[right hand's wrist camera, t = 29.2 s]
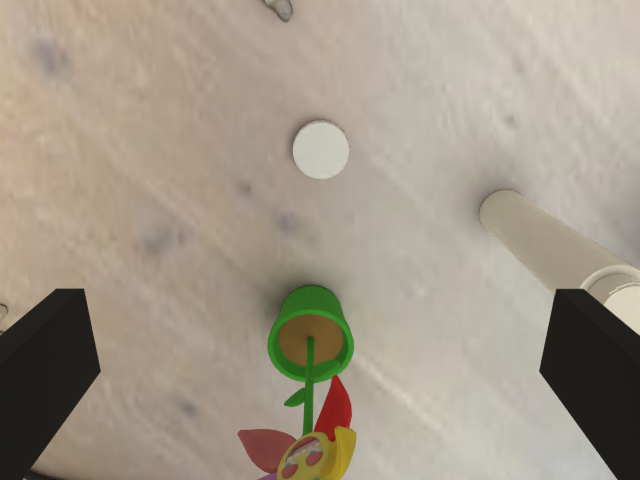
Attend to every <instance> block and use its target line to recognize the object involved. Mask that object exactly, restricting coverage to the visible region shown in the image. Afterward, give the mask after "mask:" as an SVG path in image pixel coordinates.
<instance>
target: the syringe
mask: <svg viewBox="0 0 640 480" xmlns="http://www.w3.org/2000/svg"><path fill="white" fill-rule="evenodd" d="M264 2H265V3H266V5H267V6H269V7H270V8H272V9H273V10H274V11H276V13H277V14H278V16H279V17H280V19H281V20H283V21H285V22H287V21H289V19H290V16H291V14H292V11H293V9H292V6H291V4H290V1H289V0H264Z"/></svg>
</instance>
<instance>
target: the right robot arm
mask: <svg viewBox="0 0 640 480" xmlns="http://www.w3.org/2000/svg"><path fill="white" fill-rule="evenodd" d="M100 372H101V370H100V365H99V360H98V355H97V350H96V345H95V341H94V336H93V331H92V326H91V321H90V316H89V311H88V306H87V301H86V296H85V292H84V289H55V290H54V291H53V292H52V293H51V294H49V295H48V296H47V297H46V298H45V299H43V300H42V301H41V302H40V303H39V304H37V305H36V306H35V307H34V308H33V309H31V310H30V311H29V312H28V313H27V314H25V315H24V316H23V317H22V318H21V319H19V320H18V321H17V322H16V323H15V324H13V325H12V326H11V327H10V328H9V329H8V330H6V331H5V332H4V333H3V334H2V335H0V480H23V478H25V479H27V480H55V479H51V478H47V477H44V476H41V475H39V474H36V473H34V472H32V471H30V469H31V467H32V466H33V464H34V463H35V462H36V460H37V459H38V457H39V456H40V455H41V453H42V452H43V451H44V449H45V448H46V446H47V445H48V444H49V442H50V441H51V439H52V438H53V437H54V435H55V434H56V433H57V431H58V430H59V428H60V427H61V426H62V424H63V423H64V422H65V420H66V419H67V417H68V416H69V415H70V413H71V412H72V410H73V409H74V408H75V406H76V405H77V404H78V402H79V401H80V399H81V398H82V397H83V395H84V394H85V393H86V391H87V390H88V388H89V387H90V386H91V384H92V383H93V381H94V380H95V379H96V377H97V376H98V375H99V373H100ZM539 372H540V373H541V375H542V376H543V377H544V379H545V380H546V381H547V383H548V384H549V386H550V387H551V388H552V390H553V391H554V393H555V394H556V395H557V397H558V398H559V399H560V401H561V402H562V404H563V405H564V406H565V408H566V409H567V410H568V412H569V413H570V415H571V416H572V417H573V419H574V420H575V422H576V423H577V424H578V426H579V427H580V428H581V430H582V431H583V433H584V434H585V435H586V437H587V438H588V439H589V441H590V442H591V444H592V445H593V446H594V448H595V449H596V451H597V452H598V453H599V455H600V456H601V457H602V459H603V460H604V462H605V463H606V464H607V466H608V467H609V469H610V470H611V471H612V473H613V474H614V475H615V477H616V478H617V480H640V335H638V334H637V333H636V332H635V331H634V330H632V329H631V328H630V327H629V326H628V325H626V324H625V323H624V322H623V321H622V320H621V319H619V318H618V317H617V316H616V315H615V314H613V313H612V312H611V311H610V310H609V309H607V308H606V307H605V306H604V305H603V304H601V303H600V302H599V301H598V300H597V299H595V298H594V297H593V296H592V295H591V294H589V293H588V292H587V291H586V290H585V289H556V292H555V296H554V301H553V306H552V311H551V316H550V321H549V326H548V331H547V336H546V341H545V345H544V350H543V355H542V360H541V365H540V370H539Z"/></svg>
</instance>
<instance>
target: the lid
mask: <svg viewBox="0 0 640 480" xmlns="http://www.w3.org/2000/svg"><path fill="white" fill-rule="evenodd" d="M292 146H293V152H292V154H293V157H294V162H295V163H296V165H297V167H298V168H299V169H300V170H301V171H302V172H303V173H304V174H305V175H307V176H309V177H311V178H315V179H327V178H331V177H333V176H335V175H337V174H338V173H339V172H340V171H341V170H342V169H343V168H344V167H345V165H346V164H347V161H348V158H349V149H350V147H349V144H348V138H347V137H346V136H345V134H344V131H342V130H341V129H340V127H339V126H338V125H336V124H334V123H332V122H331V121H330V122H329V121H325V120H323V119H322V120H317V121H315V120H314V121H313V122H310V123H306V125H305V126H304V127H302V128H300V130H299V132H298V134H297V135H296V136H295V141H294V142H293V145H292Z"/></svg>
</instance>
